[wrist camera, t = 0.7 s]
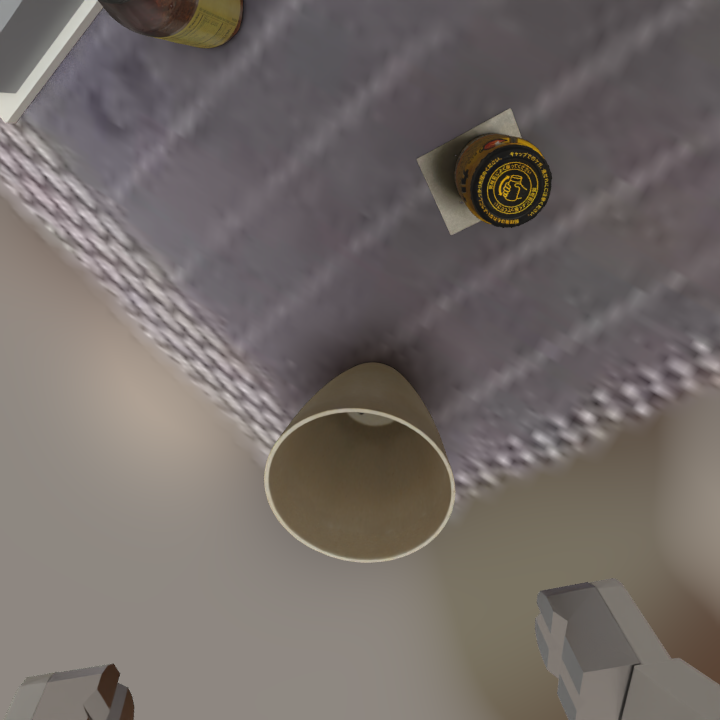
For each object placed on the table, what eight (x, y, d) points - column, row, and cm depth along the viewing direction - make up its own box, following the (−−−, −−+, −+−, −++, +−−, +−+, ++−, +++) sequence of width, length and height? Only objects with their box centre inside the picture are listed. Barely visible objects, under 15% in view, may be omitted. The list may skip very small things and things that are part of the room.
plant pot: (275, 384, 56) (225, 476, 42) (381, 299, 51) (367, 370, 37) (367, 476, 60) (350, 590, 45) (474, 406, 55) (495, 508, 40)
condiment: (541, 190, 46) (580, 212, 35) (450, 235, 48) (460, 268, 37) (510, 107, 43) (541, 103, 32) (416, 158, 46) (415, 171, 35)
